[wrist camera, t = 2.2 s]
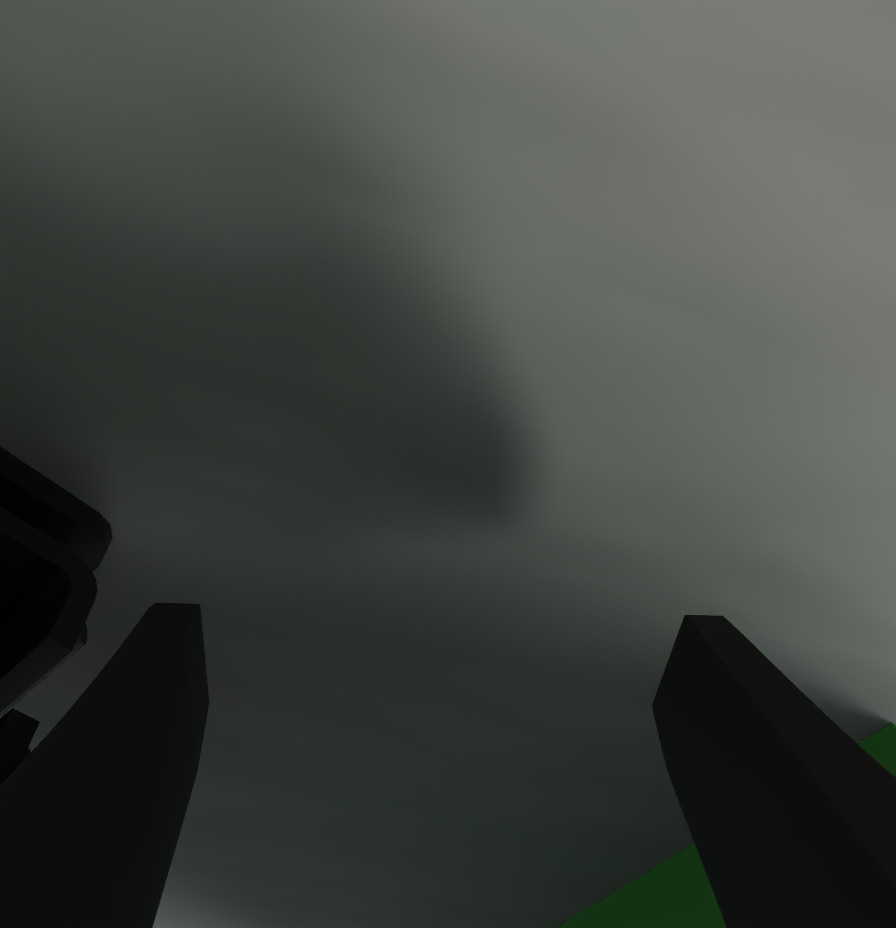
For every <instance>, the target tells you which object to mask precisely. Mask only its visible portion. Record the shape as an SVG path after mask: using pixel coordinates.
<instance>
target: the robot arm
mask: <svg viewBox="0 0 896 928" xmlns="http://www.w3.org/2000/svg"><path fill="white" fill-rule="evenodd" d="M208 706H209V695H208V685H207V674H206V663H205V652H204V641H203V631H202V620H201V609H200V604H180V603H155V604H154V605H152V606H151V607H150V608H149V609H148V610H147V611H146V612H145V614H144V615H143V617H142V618H141V619H140V621H139V622H138V624H137V625H136V626H135V628H134V629H133V630H132V632H131V633H130V634H129V636H128V637H127V639H126V640H125V641H124V643H123V644H122V645H121V646H120V648H119V649H118V650H117V652H116V653H115V654H114V656H113V657H112V658H111V659H110V661H109V662H108V663H107V664H106V666H105V667H104V668H103V669H102V671H101V672H100V673H99V675H98V676H97V677H96V678H95V680H94V681H93V682H92V683H91V684H90V686H89V687H88V688H87V689H86V690H85V692H84V693H83V694H82V695H81V696H80V697H79V699H78V700H77V701H76V702H75V703H74V705H73V706H72V707H71V708H70V709H69V711H68V712H67V713H66V714H65V715H64V716H63V718H62V719H61V720H60V721H59V722H58V724H57V725H56V726H55V727H54V728H53V729H52V730H51V732H50V733H49V734H48V735H47V736H46V737H45V738H44V739H43V740H42V741H41V743H40V744H39V745H38V746H37V747H36V748H35V749H34V750H33V751H32V752H31V753H30V754H29V755H28V757H27V758H26V759H25V760H24V761H23V762H22V763H21V764H20V765H19V766H18V767H17V768H16V769H15V771H14V772H13V773H12V774H11V775H10V776H9V777H8V778H7V779H6V780H5V781H4V782H3V784H2V785H1V786H0V928H152V927H153V924H154V920H155V917H156V913H157V910H158V906H159V903H160V899H161V896H162V893H163V889H164V886H165V882H166V879H167V875H168V872H169V868H170V865H171V862H172V858H173V855H174V851H175V848H176V844H177V841H178V837H179V834H180V831H181V827H182V824H183V820H184V817H185V813H186V810H187V806H188V803H189V799H190V796H191V792H192V788H193V785H194V781H195V778H196V774H197V770H198V764H199V759H200V753H201V748H202V742H203V736H204V730H205V724H206V718H207V712H208ZM652 708H653V713H654V717H655V721H656V726H657V730H658V735H659V739H660V743H661V747H662V751H663V755H664V759H665V763H666V767H667V770H668V773H669V776H670V779H671V781H672V784H673V787H674V790H675V792H676V795H677V798H678V800H679V803H680V806H681V809H682V811H683V814H684V817H685V819H686V822H687V825H688V827H689V830H690V832H691V835H692V838H693V840H694V843H695V846H696V848H697V851H698V853H699V856H700V859H701V861H702V864H703V866H704V869H705V872H706V874H707V877H708V880H709V882H710V885H711V887H712V890H713V893H714V895H715V898H716V901H717V903H718V906H719V908H720V911H721V914H722V916H723V919H724V922H725V925H726V928H896V777H895V776H893V775H892V774H891V773H890V772H889V771H888V770H886V769H885V768H884V767H883V766H882V765H881V764H879V763H878V762H877V761H876V760H875V759H874V758H872V757H871V756H870V755H869V754H868V753H867V752H866V751H865V750H863V749H862V748H861V747H860V746H859V745H858V744H857V743H856V742H855V741H853V740H852V739H851V738H850V737H849V736H848V735H847V734H846V733H845V732H844V731H842V730H841V729H840V728H839V727H838V726H837V725H836V724H835V723H834V722H833V721H832V720H831V719H830V718H828V717H827V716H826V715H825V714H824V713H823V712H822V711H821V710H820V709H819V708H818V707H817V706H816V705H815V704H814V703H813V702H812V701H811V700H809V699H808V698H807V697H806V696H805V695H804V694H803V693H802V692H801V691H800V690H799V689H798V688H797V687H796V686H795V685H794V684H793V683H792V682H791V681H790V680H789V679H788V678H787V677H786V676H785V675H784V674H783V673H782V672H781V671H780V670H779V669H778V668H777V667H776V666H774V665H773V664H772V663H771V662H770V661H769V660H768V659H767V658H766V657H765V656H764V655H763V654H762V653H761V652H760V651H759V650H758V649H757V648H756V647H755V646H754V645H753V644H752V643H751V642H750V641H749V640H748V639H747V638H746V637H745V636H744V635H743V634H742V633H741V632H740V631H739V630H737V629H736V628H735V627H734V626H733V625H732V624H731V623H730V622H729V621H728V620H727V619H726V618H725V617H723V616H709V615H685V616H684V619H683V621H682V624H681V627H680V630H679V632H678V635H677V638H676V641H675V643H674V646H673V649H672V652H671V654H670V657H669V660H668V663H667V665H666V668H665V671H664V674H663V676H662V679H661V682H660V685H659V687H658V690H657V693H656V696H655V698H654V701H653V704H652Z"/></svg>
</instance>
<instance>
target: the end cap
mask: <svg viewBox="0 0 896 928" xmlns="http://www.w3.org/2000/svg"><path fill="white" fill-rule="evenodd" d="M111 540H112V533H111V528H110V524H109V523H108V522H107V521H106V520H105V519H104V518H103V517H102V516H101V514H100V513H99V512H97V511H96V510H94V509H93V508H91V507H90V506H88V505H87V504H85V503H84V502H82V501H81V500H79V499H78V498H76V497H75V496H73V495H72V494H70V493H69V492H67V491H66V490H64V489H63V488H61V487H60V486H58V485H57V484H55V483H54V482H52V481H51V480H49V479H48V478H46V477H45V476H43V475H42V474H40V473H39V472H37V471H36V470H34V469H33V468H31V467H30V466H28V465H27V464H25V463H24V462H22V461H21V460H19V459H18V458H16V457H15V456H13V455H12V454H10V453H9V452H7V451H6V450H4V449H3V448H1V447H0V716H1V715H3V714H4V713H5V712H6V711H7V710H8V709H10V708H11V707H12V706H13V705H14V704H15V703H17V702H18V701H19V700H20V699H21V698H23V697H24V696H25V695H26V694H27V693H28V692H30V691H31V690H32V689H33V688H34V687H35V686H37V685H38V684H39V683H40V682H41V681H42V680H44V679H45V678H46V677H47V676H48V675H49V674H51V673H52V672H53V671H54V670H55V669H57V668H58V667H59V666H60V665H61V664H62V663H64V662H65V661H66V660H67V659H68V658H69V657H71V656H72V655H73V654H74V653H75V652H76V651H78V650H79V649H80V648H81V647H82V646H83V645H85V644H86V642H87V628H86V624H85V621H86V619H87V616H88V614H89V612H90V610H91V608H92V605H93V603H94V601H95V598H96V594H97V584H96V579H95V577H94V575H93V573H92V572H93V571H94V570H95V569H96V568H98V566H99V564H100V562H101V561H102V559H103V557H104V555H105V553H106V551H107V549H108V547H109V544H110V542H111ZM38 724H39V721H37V720H35V719H33V718H31V717H29V716H27V715H25V714H23V713H21V712H19V711H17V710H15V709H13V708H12V709H11V710H10V711H9V712H7V713H6V714H5V715H4V716H3V717H2V718H0V786H1V785H2V784H3V782H4V781H5V780H6V779H7V778H8V777H9V776H10V775H11V774H12V773H13V772H14V771H15V769H16V768H17V767H18V766H19V765H20V764H21V763H22V762H23V761H24V760H25V759H26V758H27V757H28V755H29V754H30V753H31V751H30V749H29V744H30V742H31V740H32V738H33V736H34V733H35V731H36V729H37V727H38Z"/></svg>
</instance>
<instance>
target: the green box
mask: <svg viewBox="0 0 896 928" xmlns="http://www.w3.org/2000/svg"><path fill="white" fill-rule="evenodd" d="M858 745H859V746H860V747H861V748H862V749H863V750H865V751H866V752H867V753H868V754H869V755H870V756H871V757H872V758H874V759H875V760H876V761H877V762H878V763H879V764H881V765H882V766H883V767H884V768H885V769H886V770H888V771H889V772H890V773H891V774H892V775H893V776H895V777H896V726H895V725H894V724H893V723H891V724H889V725H887V726H886V727H884V728H882V729H881V730H879V731H877V732H876V733H874V734H872V735H871V736H869V737H868V738H866V739H864V740H863V741H861V742H859V743H858ZM556 928H726V925H725V922H724V919H723V916H722V914H721V911H720V908H719V906H718V903H717V901H716V898H715V895H714V893H713V890H712V887H711V885H710V882H709V880H708V877H707V874H706V872H705V869H704V866H703V864H702V861H701V859H700V856H699V853H698V851H697V848H696V846H695V843H694V844H692V845H690V846H689V847H687V848H685V849H684V850H682V851H681V852H679V853H677V854H676V855H674V856H672V857H671V858H669V859H667V860H666V861H664V862H662V863H661V864H659V865H658V866H656V867H654V868H653V869H651V870H649V871H648V872H646V873H644V874H643V875H641V876H639V877H638V878H636V879H635V880H633V881H631V882H630V883H628V884H626V885H625V886H623V887H621V888H620V889H618V890H617V891H615V892H613V893H612V894H610V895H608V896H607V897H605V898H603V899H602V900H600V901H598V902H597V903H595V904H594V905H592V906H590V907H589V908H587V909H585V910H584V911H582V912H580V913H579V914H577V915H576V916H574V917H572V918H571V919H569V920H567V921H566V922H564V923H562V924H561V925H559V926H557V927H556Z"/></svg>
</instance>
